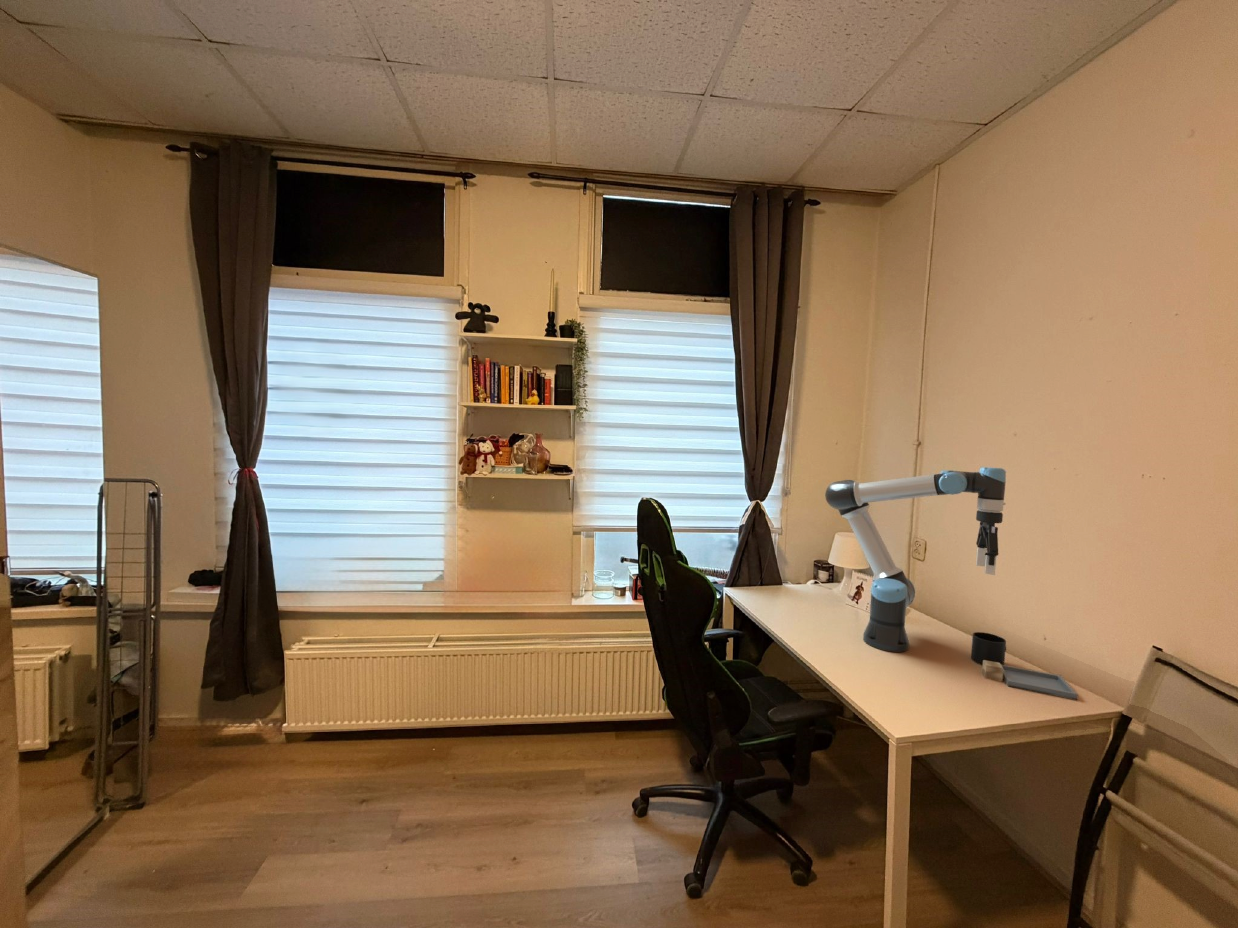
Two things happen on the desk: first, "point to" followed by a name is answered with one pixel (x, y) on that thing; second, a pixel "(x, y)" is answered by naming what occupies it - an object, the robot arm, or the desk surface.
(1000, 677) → the oak block
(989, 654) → the mug
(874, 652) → the desk surface
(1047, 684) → the tray
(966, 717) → the desk surface
